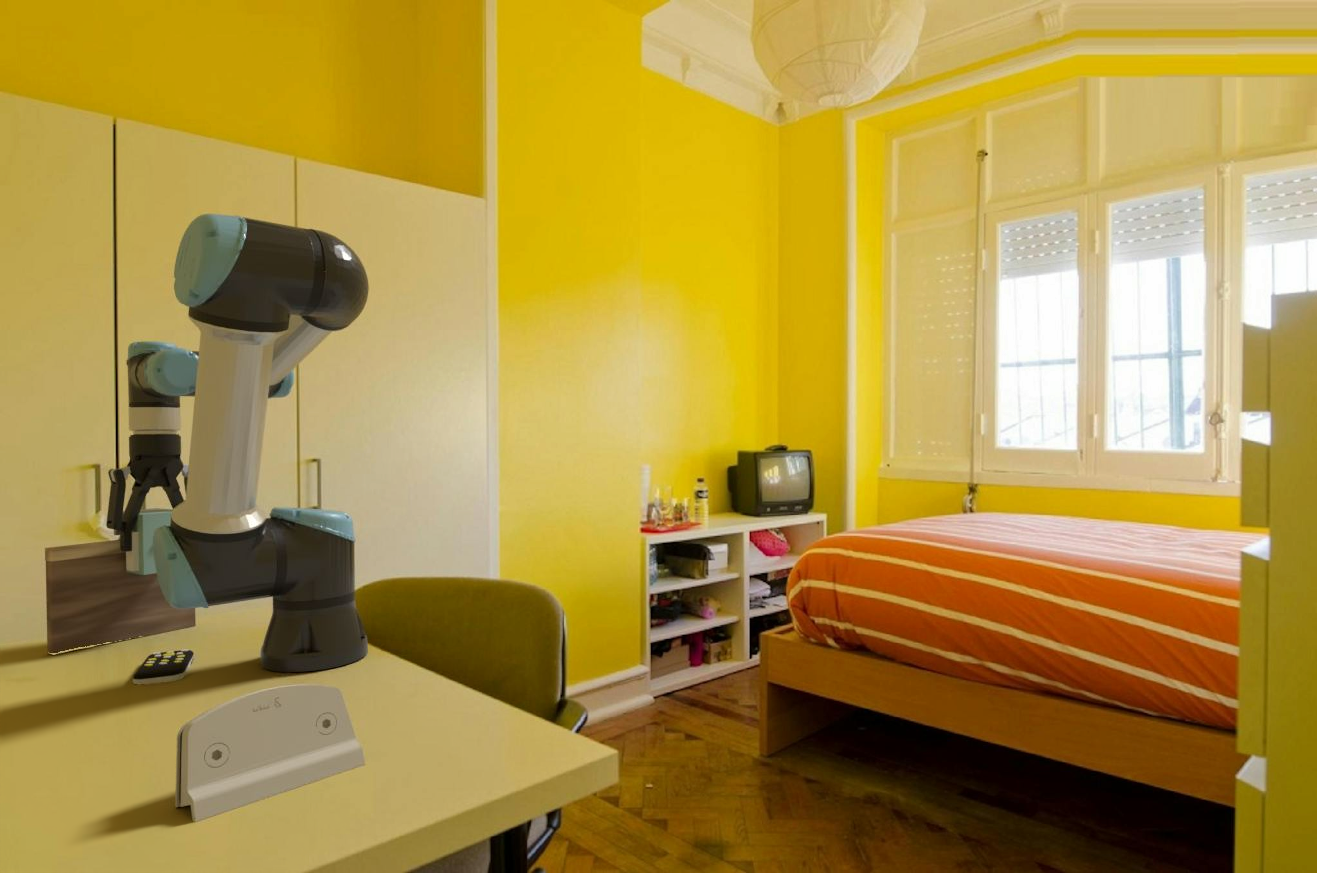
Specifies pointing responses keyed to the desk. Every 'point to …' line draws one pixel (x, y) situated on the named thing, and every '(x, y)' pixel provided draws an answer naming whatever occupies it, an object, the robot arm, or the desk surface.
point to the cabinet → (148, 536)
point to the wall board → (103, 598)
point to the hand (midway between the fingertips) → (157, 566)
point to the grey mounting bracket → (263, 747)
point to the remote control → (164, 667)
